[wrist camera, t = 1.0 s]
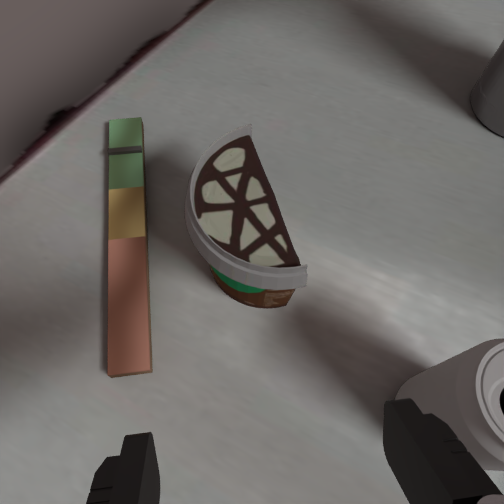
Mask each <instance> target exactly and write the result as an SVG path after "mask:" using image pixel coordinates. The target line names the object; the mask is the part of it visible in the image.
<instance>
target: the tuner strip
mask: <svg viewBox="0 0 504 504" xmlns="http://www.w3.org/2000/svg"><path fill="white" fill-rule="evenodd" d="M108 154H109V234H108V376H110V377H111V378H114V377H122V376H129V375H137V374H144V373H152V346H151V318H150V291H149V264H148V237H147V210H146V183H145V156H144V129H143V122H142V119H141V117H139V118H127V119H116V120H109V148H108Z"/></svg>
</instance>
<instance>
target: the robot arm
mask: <svg viewBox="0 0 504 504" xmlns="http://www.w3.org/2000/svg"><path fill="white" fill-rule="evenodd" d="M471 105H472V108H473V111H474V113H475V114H476V116H477V117H478V119H479V120H480V121H481V122H482V123H483V124H484V125H485V126H486V127H488V128H489V129H490V130H492V131H493V132H495V133H497V134H499V135H501V136H503V137H504V40H503V42H502V43H501V45H500V46H499V48H498V50H497V51H496V53H495V54H494V56H493V57H492V59H491V61H490V62H489V64H488V66H487V67H486V69H485V70H484V72H483V74H482V75H481V77H480V78H479V80H478V82H477V83H476V85H475V87H474V88H473V90H472V93H471ZM383 446H384V452H385V456H386V459H387V461H388V464H389V466H390V467H391V469H392V471H393V473H394V475H395V477H396V479H397V481H398V483H399V484H400V486H401V488H402V490H403V492H404V494H405V496H406V498H407V500H408V501H409V503H410V504H504V495H503V494H502V493H501V492H500V490H499V489H498V488H497V486H496V485H495V484H494V483H493V481H492V480H491V479H490V478H489V476H488V475H487V474H486V472H485V471H484V470H483V469H482V467H481V466H480V465H479V464H478V462H477V461H476V460H475V458H474V457H473V456H472V455H471V453H470V452H468V451H467V448H466V447H465V446H464V444H463V443H462V442H461V441H460V440H459V439H458V437H457V435H456V434H455V433H454V432H453V430H452V429H451V428H450V427H449V425H448V424H447V423H445V422H444V421H442V420H441V419H440V418H438V417H437V416H435V415H434V414H432V413H429V414H423V413H422V412H421V410H420V409H419V407H418V406H417V405H416V403H415V402H414V401H413V400H412V399H411V398H406V399H398V400H391V401H386V402H385V405H384V427H383ZM159 500H160V475H159V468H158V463H157V457H156V451H155V446H154V440H153V435H152V433H151V432H147V433H140V434H132V435H126V436H125V437H124V441H123V445H122V449H121V454H120V455H119V456H112V457H107V458H106V459H105V460H104V462H103V463H102V464H101V466H100V467H99V468H98V470H97V471H96V472H95V475H94V478H93V482H92V485H91V489H90V493H89V495H88V499H87V502H86V504H159Z"/></svg>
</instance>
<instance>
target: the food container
mask: <svg viewBox="0 0 504 504" xmlns="http://www.w3.org/2000/svg"><path fill="white" fill-rule="evenodd" d="M185 220H186V226H187V230H188V232H189V235H190V237H191V240H192V242H193V243H194V245H195V247H196V248H197V250H198V252H199V253H200V254H201V255H202V256H203V257H204V259H205V260H206V261H207V262H208V263H209V265H210V268H211V271H212V274H213V276H214V279H215V280H216V282H217V284H218V285H219V286H220V288H221V289H222V290H223V291H224V292H225V293H226V294H227V295H229V296H230V297H231V298H233V299H235V300H236V301H238V302H240V303H243V304H245V305H248V306H252V307H256V308H277V307H282V306H286V304H287V303H288V301H289V299H290V298H291V296H292V294H293V292H294V291H295V289H296V288H300V287H305V286H306V282H307V271H306V270H307V265H302V266H301V264H300V261H299V258H298V256H297V254H296V252H295V250H294V248H293V245H292V242H291V240H290V237H289V234H288V232H287V229H286V226H285V223H284V221H283V218H282V215H281V212H280V209H279V206H278V204H277V201H276V198H275V195H274V192H273V190H272V188H271V186H270V183H269V181H268V179H267V177H266V174H265V172H264V169H263V167H262V165H261V162H260V159H259V157H258V154H257V152H256V149H255V147H254V144H253V142H252V125H251V124H249V125H245V126H242V127H239V128H237V129H234V130H232V131H230V132H228V133H226V134H225V135H223V136H222V137H220V138H218V139H217V140H216V141H215V142H214V143H213V144H211V145H210V146H209V147H208V149H207V150H206V151H205V152H204V153H203V154H202V156H201V158H200V159H199V161H198V162H197V164H196V166H195V167H194V169H193V171H192V174H191V176H190V179H189V183H188V188H187V193H186V199H185Z"/></svg>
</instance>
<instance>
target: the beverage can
mask: <svg viewBox="0 0 504 504" xmlns="http://www.w3.org/2000/svg"><path fill="white" fill-rule="evenodd" d="M406 398H411V399H412V400H413V401H414V402H415V403H416V405H417V406H418V407H419V409H420V410H421V412H422V413H423V414H429V413H432V414H434V415H435V416H437V417H438V418H440V419H441V420H442V421H444V422H445V423H447V424H448V425H449V427H450V428H451V429H452V430H453V432H454V433H455V434H456V435H457V437H458V439H459V440H460V441H461V442H462V443H463V444H464V446H465V447H466V448H467V451H468V452H470V453H471V455H472V456H473V457H474V458H475V460H476V461H477V462H478V464H479V465H480V466H481V467H482V469H483V470H495V471H504V339H494V340H489V341H486V342H483V343H481V344H479V345H477V346H475V347H473V348H471V349H469V350H467V351H464V352H462V353H460V354H458V355H456V356H454V357H452V358H450V359H448V360H446V361H444V362H442V363H440V364H438V365H436V366H434V367H431V368H429V369H427V370H425V371H423V372H421V373H419V374H417V375H415V376H413V377H411V378H410V379H408V380H407V381H406V382H405V383H404V384H403V385H402V386H401V387H400V389H399V391H398V393H397V395H396V398H395V400H398V399H406Z"/></svg>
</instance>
